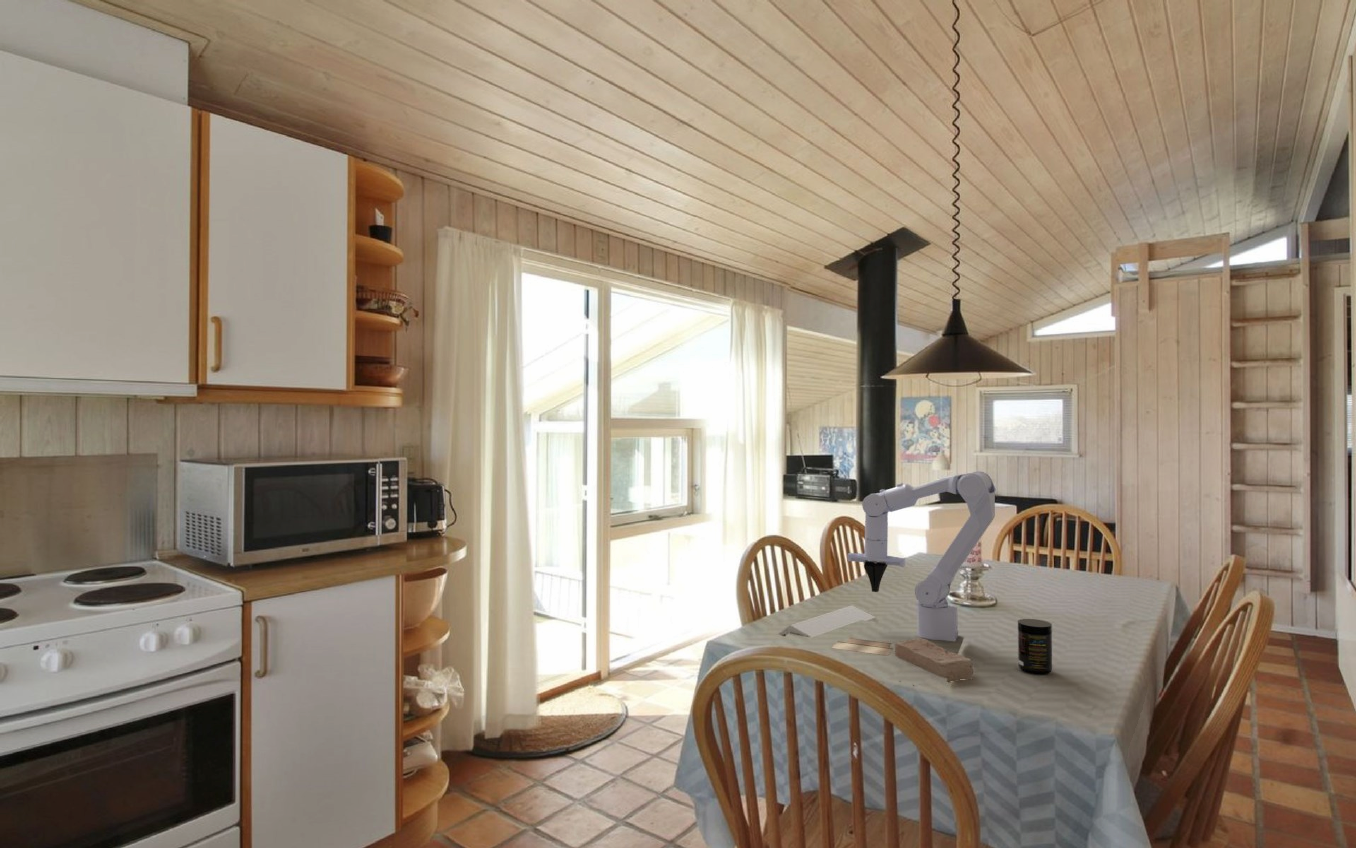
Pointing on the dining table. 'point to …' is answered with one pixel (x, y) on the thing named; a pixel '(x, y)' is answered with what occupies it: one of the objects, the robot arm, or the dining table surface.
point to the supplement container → (1035, 646)
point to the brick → (935, 659)
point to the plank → (869, 642)
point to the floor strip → (862, 648)
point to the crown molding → (828, 622)
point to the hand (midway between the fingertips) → (875, 591)
